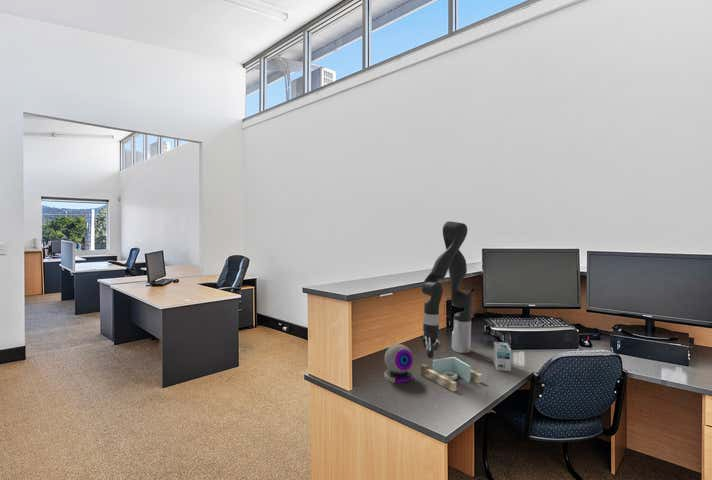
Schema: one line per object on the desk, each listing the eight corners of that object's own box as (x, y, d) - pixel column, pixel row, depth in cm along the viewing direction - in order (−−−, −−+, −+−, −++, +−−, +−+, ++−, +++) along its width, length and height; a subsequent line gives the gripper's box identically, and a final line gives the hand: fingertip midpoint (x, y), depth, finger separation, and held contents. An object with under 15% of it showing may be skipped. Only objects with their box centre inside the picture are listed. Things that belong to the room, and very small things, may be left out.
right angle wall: (432, 375, 174) (432, 359, 173) (454, 372, 178) (454, 356, 178) (447, 386, 163) (447, 369, 162) (470, 382, 167) (470, 366, 166)
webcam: (392, 385, 162) (393, 351, 161) (379, 373, 174) (379, 342, 173) (418, 380, 167) (418, 347, 166) (403, 369, 179) (403, 339, 178)
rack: (420, 374, 174) (420, 364, 173) (449, 366, 183) (449, 357, 183) (452, 391, 157) (452, 381, 156) (482, 382, 166) (482, 372, 166)
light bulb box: (511, 371, 178) (512, 349, 178) (496, 370, 180) (497, 348, 179) (506, 363, 189) (507, 342, 188) (492, 362, 190) (493, 341, 189)
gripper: (416, 320, 184) (415, 354, 185) (435, 326, 173) (434, 363, 173) (427, 318, 188) (426, 352, 189) (446, 324, 177) (445, 360, 177)
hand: (430, 357), depth 181 cm, fingers closed
